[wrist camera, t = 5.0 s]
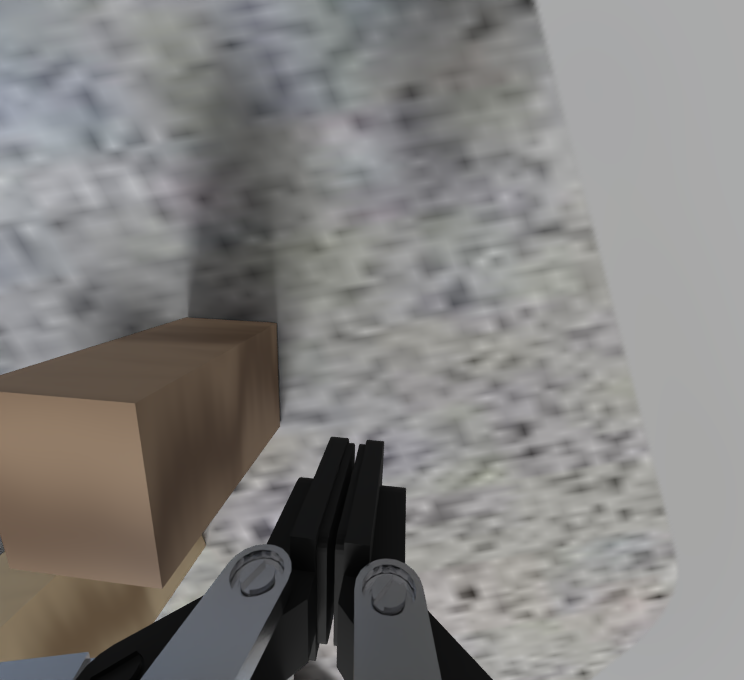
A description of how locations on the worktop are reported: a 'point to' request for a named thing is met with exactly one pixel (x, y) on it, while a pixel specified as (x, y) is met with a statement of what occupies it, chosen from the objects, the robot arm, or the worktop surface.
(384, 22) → the worktop surface
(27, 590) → the oak block
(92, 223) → the worktop surface
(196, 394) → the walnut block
